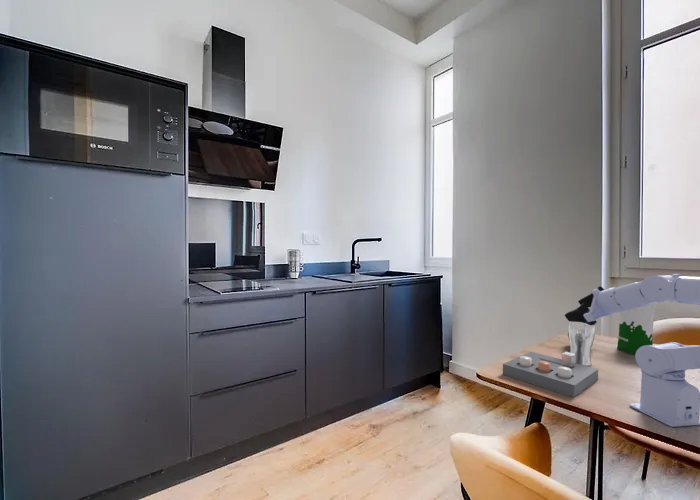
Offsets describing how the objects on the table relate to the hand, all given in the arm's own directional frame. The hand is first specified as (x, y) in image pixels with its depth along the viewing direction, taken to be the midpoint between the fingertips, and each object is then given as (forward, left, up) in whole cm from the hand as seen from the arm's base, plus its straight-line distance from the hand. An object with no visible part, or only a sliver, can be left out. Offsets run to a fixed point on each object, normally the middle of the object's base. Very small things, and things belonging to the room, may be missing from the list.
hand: (574, 310), depth 99 cm
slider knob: (0, +1, -15) cm, 15 cm away
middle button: (-1, +10, -17) cm, 20 cm away
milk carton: (+18, -41, -19) cm, 48 cm away
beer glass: (+10, -12, -19) cm, 24 cm away
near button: (-6, +7, -17) cm, 20 cm away
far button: (+3, +12, -17) cm, 21 cm away
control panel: (+1, +6, -19) cm, 20 cm away
